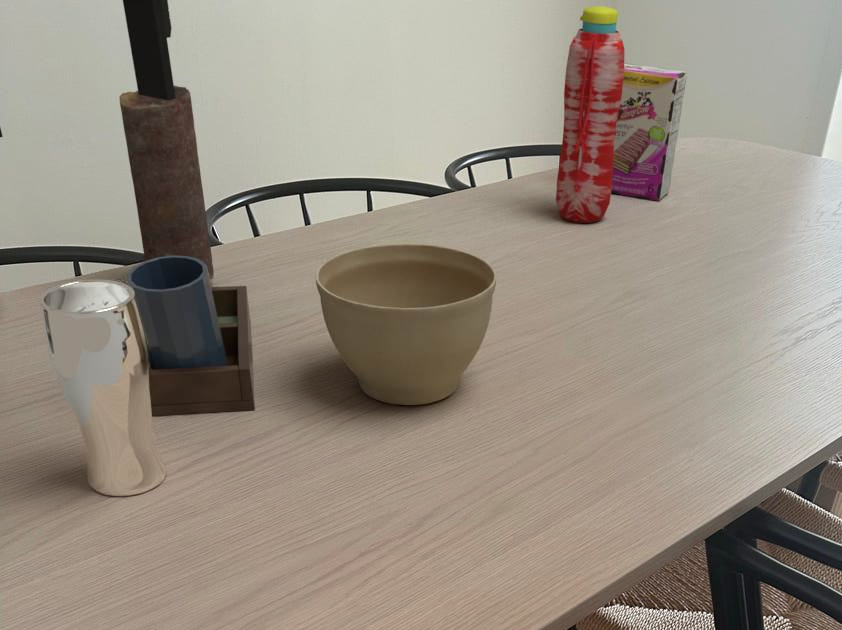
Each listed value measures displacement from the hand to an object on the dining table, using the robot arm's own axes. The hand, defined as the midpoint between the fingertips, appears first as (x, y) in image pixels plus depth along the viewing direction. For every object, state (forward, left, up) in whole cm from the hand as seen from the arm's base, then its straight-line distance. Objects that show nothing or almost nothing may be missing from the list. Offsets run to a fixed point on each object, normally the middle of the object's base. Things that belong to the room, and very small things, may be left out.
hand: (76, 115), depth 62 cm
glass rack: (+3, +23, -27) cm, 36 cm away
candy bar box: (+65, +77, -27) cm, 104 cm away
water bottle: (+55, +67, -27) cm, 91 cm away
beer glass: (-2, +2, -27) cm, 27 cm away
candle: (+1, +45, -27) cm, 53 cm away
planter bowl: (+23, +16, -27) cm, 39 cm away
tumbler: (+3, +18, -26) cm, 31 cm away
